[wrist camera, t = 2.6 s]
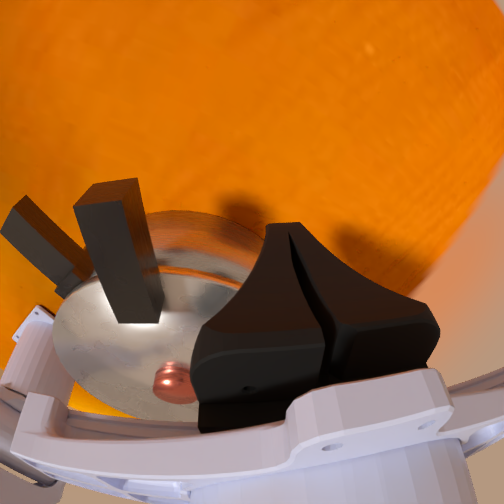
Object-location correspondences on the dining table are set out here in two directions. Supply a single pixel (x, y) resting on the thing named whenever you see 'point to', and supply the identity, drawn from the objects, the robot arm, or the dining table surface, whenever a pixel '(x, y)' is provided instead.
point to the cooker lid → (134, 312)
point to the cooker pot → (162, 236)
